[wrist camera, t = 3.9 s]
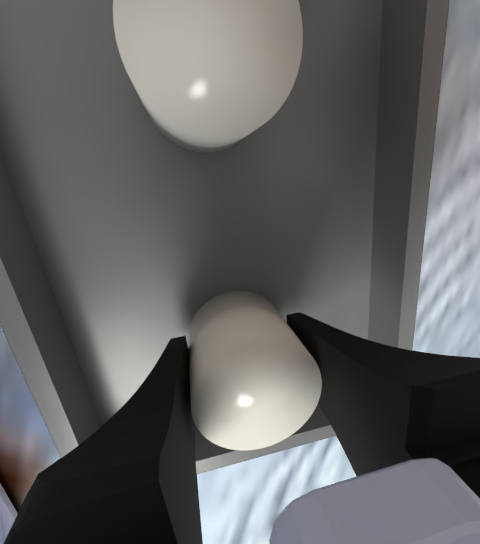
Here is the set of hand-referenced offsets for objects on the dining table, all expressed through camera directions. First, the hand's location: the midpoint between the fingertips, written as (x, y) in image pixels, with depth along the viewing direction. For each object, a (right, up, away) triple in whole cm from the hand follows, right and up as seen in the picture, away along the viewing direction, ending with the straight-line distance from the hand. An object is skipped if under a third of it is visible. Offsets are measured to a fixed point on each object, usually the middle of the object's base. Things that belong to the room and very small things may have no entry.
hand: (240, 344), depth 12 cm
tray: (-1, +5, +1) cm, 6 cm away
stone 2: (0, 0, +1) cm, 1 cm away
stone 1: (-1, +10, -2) cm, 10 cm away
